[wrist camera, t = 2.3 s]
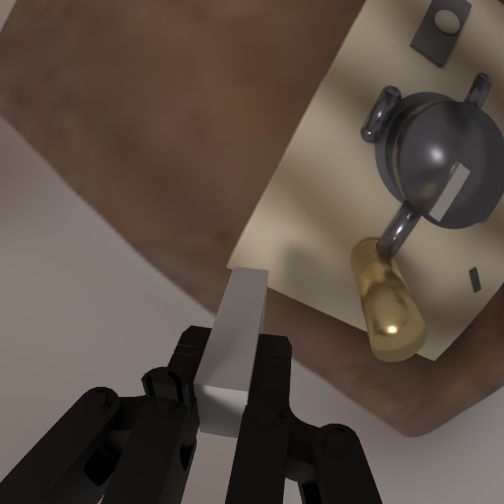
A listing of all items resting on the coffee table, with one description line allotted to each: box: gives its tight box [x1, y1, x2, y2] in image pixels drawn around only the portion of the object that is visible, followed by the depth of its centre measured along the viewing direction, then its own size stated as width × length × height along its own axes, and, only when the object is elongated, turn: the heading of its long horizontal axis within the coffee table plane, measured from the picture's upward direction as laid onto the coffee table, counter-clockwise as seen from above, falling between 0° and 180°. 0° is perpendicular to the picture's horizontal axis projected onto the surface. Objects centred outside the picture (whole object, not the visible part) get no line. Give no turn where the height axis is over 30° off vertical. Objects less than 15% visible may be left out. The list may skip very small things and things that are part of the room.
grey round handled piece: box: [350, 72, 504, 362], centre depth 12 cm, size 14×9×7 cm, turn 155°
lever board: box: [226, 0, 504, 361], centre depth 15 cm, size 24×18×4 cm
